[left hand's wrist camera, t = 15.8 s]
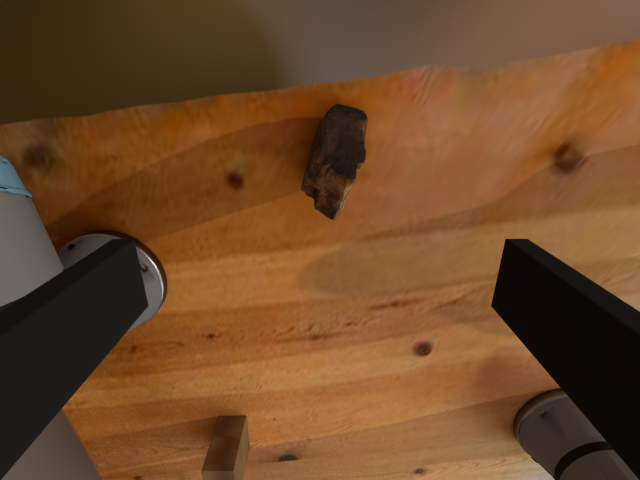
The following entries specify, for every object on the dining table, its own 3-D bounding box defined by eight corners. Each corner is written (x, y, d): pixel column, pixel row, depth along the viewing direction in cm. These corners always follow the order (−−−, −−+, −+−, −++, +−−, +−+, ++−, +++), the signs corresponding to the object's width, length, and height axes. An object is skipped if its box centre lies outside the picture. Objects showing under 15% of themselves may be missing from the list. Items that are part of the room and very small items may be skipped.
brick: (223, 446, 64) (207, 504, 55) (219, 415, 61) (201, 471, 52) (249, 446, 64) (238, 504, 55) (246, 415, 61) (233, 471, 52)
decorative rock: (336, 203, 46) (341, 230, 36) (294, 187, 46) (287, 210, 36) (374, 116, 42) (391, 119, 32) (328, 96, 42) (331, 94, 32)
